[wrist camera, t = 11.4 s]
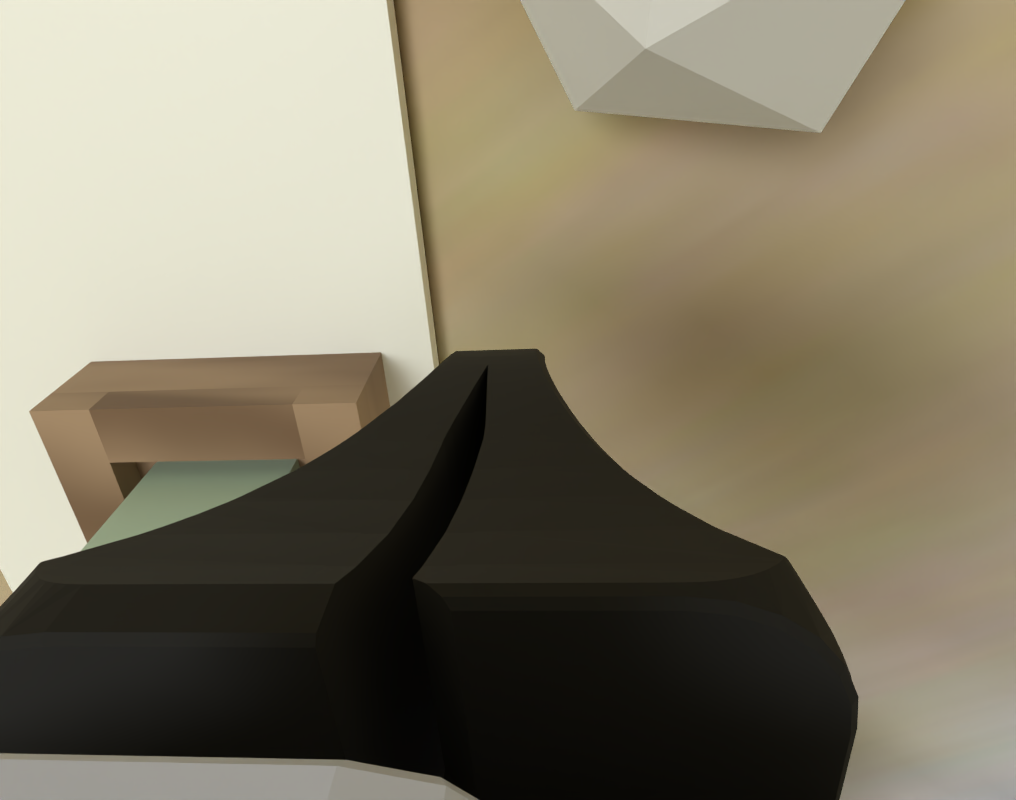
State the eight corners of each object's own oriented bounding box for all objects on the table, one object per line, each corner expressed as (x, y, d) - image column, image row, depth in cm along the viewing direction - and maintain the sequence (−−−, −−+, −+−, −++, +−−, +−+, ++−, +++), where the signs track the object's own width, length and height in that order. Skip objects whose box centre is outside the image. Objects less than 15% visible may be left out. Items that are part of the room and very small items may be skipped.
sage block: (324, 569, 23) (275, 687, 19) (196, 569, 24) (123, 684, 20) (297, 458, 21) (237, 565, 17) (158, 460, 22) (68, 565, 18)
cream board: (467, 597, 27) (465, 613, 27) (37, 598, 29) (24, 613, 28) (377, -127, 17) (369, -132, 16) (-301, -65, 18) (-335, -67, 17)
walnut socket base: (419, 582, 26) (403, 649, 23) (175, 583, 27) (133, 648, 24) (381, 352, 22) (356, 402, 19) (91, 361, 22) (28, 411, 20)
